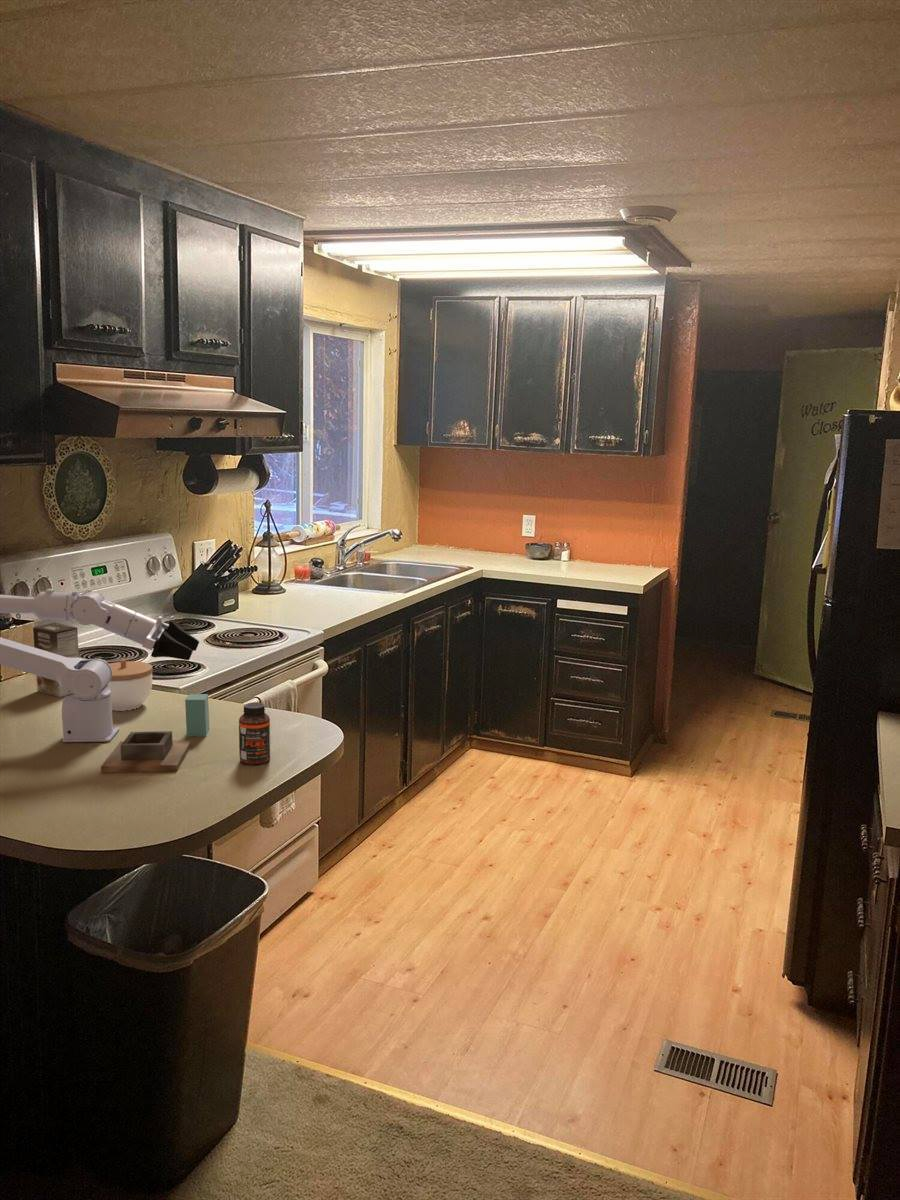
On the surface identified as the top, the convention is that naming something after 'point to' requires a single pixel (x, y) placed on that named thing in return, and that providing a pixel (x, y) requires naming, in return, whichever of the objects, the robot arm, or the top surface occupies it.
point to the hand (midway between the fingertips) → (194, 650)
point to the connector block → (197, 714)
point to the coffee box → (55, 651)
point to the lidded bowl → (130, 684)
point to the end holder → (147, 753)
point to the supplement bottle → (254, 734)
